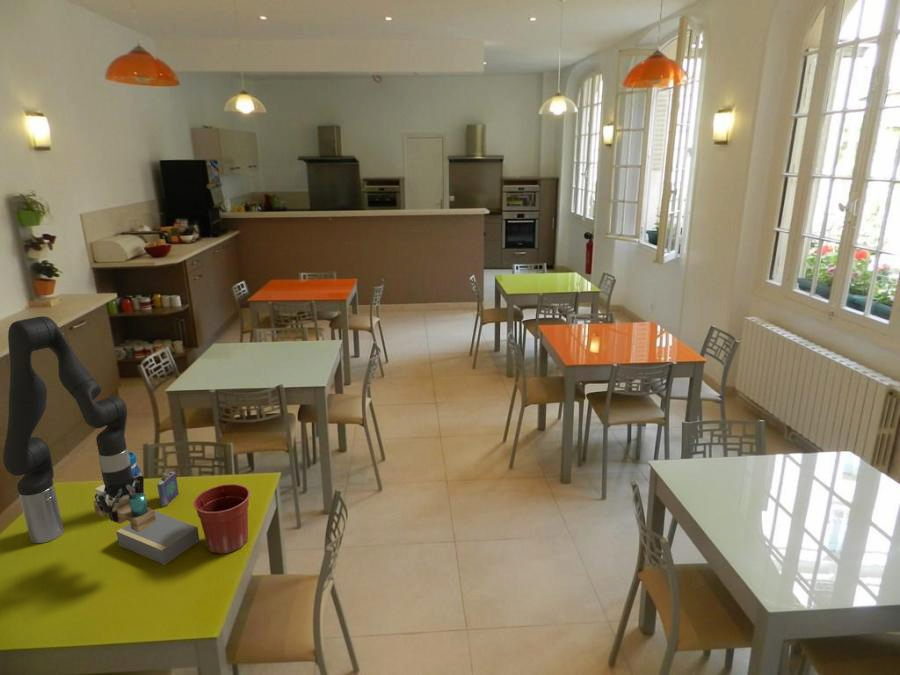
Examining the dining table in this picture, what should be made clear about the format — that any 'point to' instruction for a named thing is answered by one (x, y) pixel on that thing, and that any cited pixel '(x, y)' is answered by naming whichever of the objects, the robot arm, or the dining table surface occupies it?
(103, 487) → the white cube
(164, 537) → the dock
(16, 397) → the robot arm
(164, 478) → the flask
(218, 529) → the flower pot
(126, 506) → the pallet
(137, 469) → the beverage bottle
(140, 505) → the teal canister
